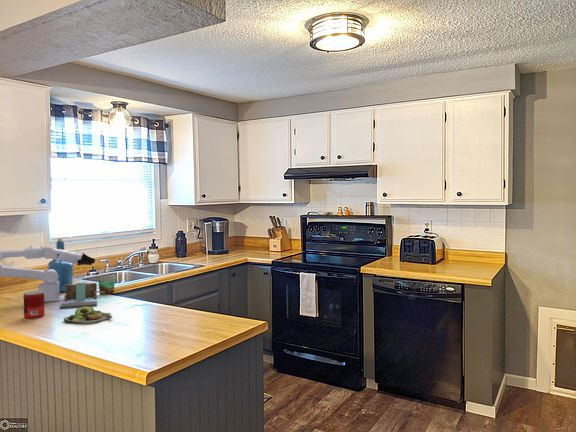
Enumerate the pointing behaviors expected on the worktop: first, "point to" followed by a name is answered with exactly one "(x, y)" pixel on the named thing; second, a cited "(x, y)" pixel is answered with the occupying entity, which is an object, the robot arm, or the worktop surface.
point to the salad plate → (87, 316)
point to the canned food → (33, 304)
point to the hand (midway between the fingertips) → (93, 262)
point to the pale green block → (80, 290)
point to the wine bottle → (62, 269)
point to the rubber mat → (78, 304)
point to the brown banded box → (89, 290)
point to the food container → (107, 284)
